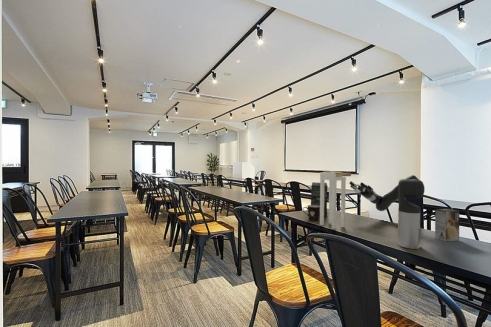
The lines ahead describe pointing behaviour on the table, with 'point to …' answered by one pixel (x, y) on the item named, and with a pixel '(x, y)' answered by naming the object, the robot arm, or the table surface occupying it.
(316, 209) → the coffee mug
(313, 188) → the headset box
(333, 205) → the white stand
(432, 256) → the table surface
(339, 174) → the oak paddle
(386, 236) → the table surface
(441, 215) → the coffee box
